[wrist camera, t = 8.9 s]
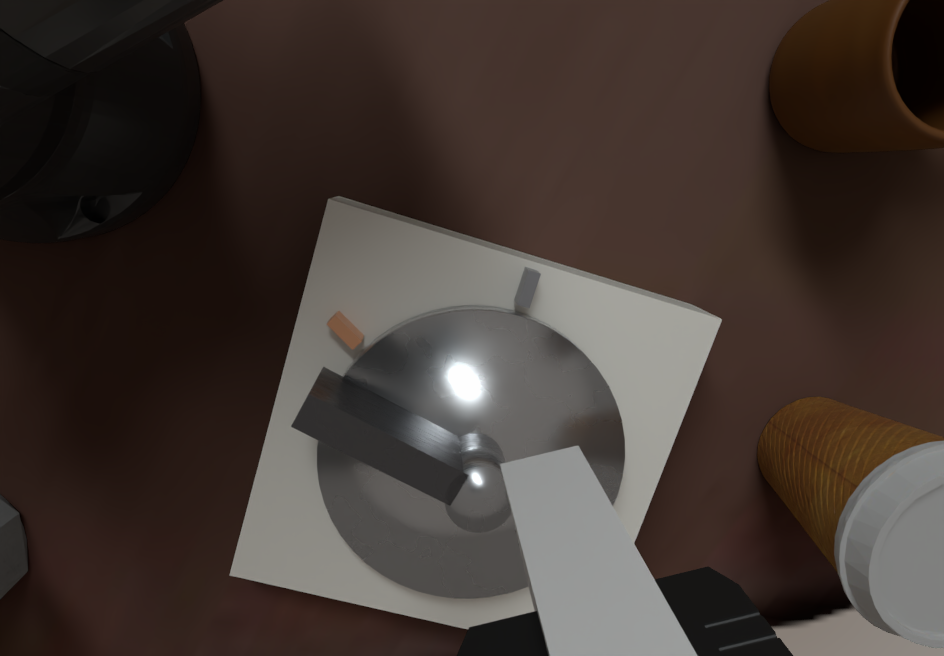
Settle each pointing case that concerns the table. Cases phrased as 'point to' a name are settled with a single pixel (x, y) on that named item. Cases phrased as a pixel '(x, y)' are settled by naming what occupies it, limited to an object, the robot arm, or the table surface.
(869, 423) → the disposable coffee cup
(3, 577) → the coffeepot
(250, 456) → the table surface
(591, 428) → the dial
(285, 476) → the dial housing
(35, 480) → the table surface
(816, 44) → the mug
